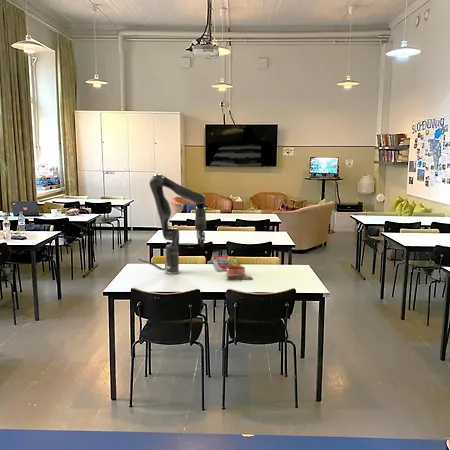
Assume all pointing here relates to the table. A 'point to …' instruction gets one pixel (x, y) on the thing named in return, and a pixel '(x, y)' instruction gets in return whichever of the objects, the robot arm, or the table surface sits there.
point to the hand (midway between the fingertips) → (200, 245)
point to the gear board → (223, 262)
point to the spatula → (237, 277)
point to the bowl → (235, 270)
